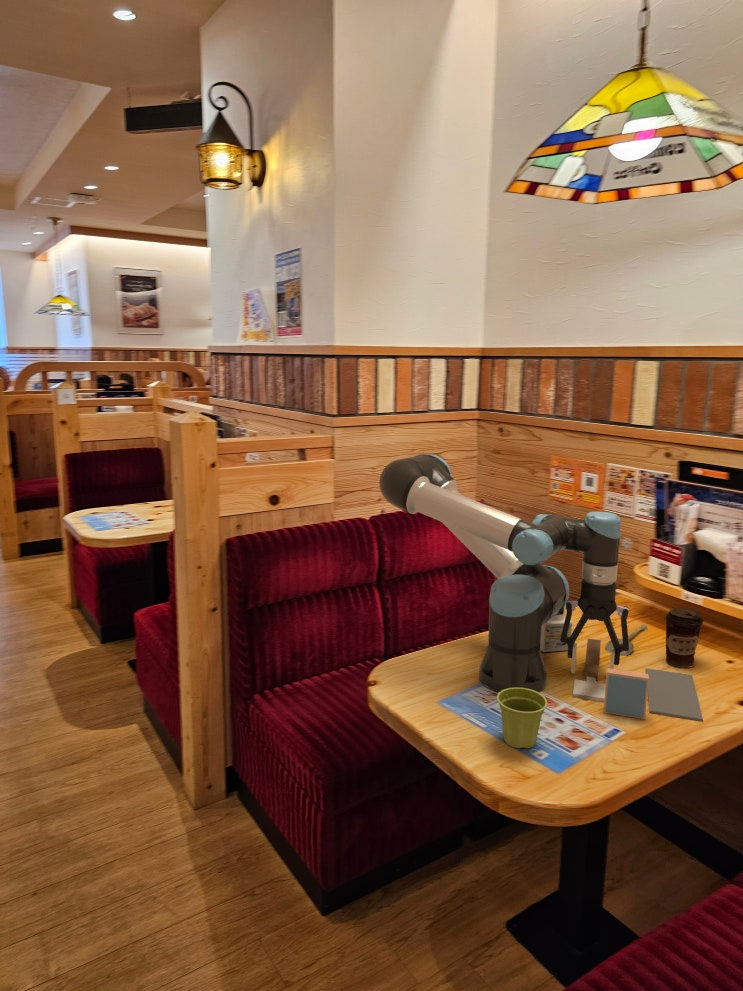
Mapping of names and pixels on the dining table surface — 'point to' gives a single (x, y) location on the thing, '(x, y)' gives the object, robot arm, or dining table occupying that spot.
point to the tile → (626, 693)
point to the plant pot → (521, 715)
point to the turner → (591, 675)
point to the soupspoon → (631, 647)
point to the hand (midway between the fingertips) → (591, 673)
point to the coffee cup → (682, 636)
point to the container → (554, 633)
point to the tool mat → (673, 695)
